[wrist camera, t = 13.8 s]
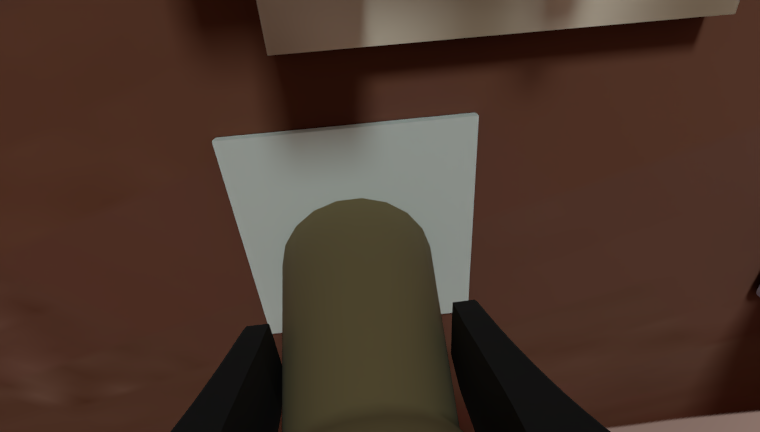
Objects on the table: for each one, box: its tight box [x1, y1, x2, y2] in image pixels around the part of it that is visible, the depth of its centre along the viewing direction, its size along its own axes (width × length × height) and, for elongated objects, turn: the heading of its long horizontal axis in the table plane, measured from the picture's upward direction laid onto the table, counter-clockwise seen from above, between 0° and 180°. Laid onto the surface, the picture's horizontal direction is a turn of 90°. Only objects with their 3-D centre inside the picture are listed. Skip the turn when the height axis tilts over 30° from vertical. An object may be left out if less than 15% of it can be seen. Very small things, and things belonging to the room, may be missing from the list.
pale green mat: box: [212, 113, 479, 334], centre depth 15 cm, size 9×9×1 cm
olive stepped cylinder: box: [282, 198, 463, 432], centre depth 10 cm, size 6×6×11 cm
